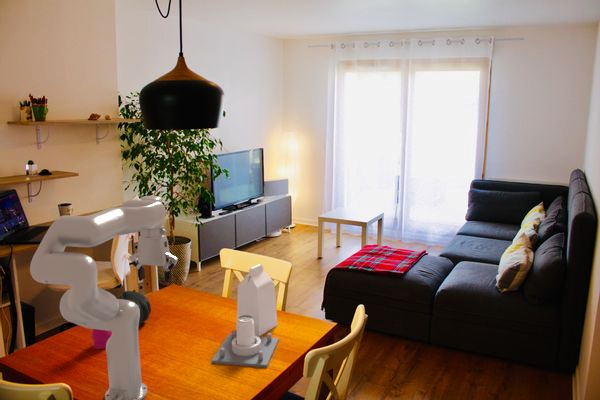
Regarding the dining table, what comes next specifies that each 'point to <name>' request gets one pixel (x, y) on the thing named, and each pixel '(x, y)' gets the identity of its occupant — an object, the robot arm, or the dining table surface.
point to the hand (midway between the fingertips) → (154, 280)
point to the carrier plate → (246, 359)
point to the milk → (258, 300)
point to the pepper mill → (100, 338)
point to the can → (245, 331)
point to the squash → (138, 303)
